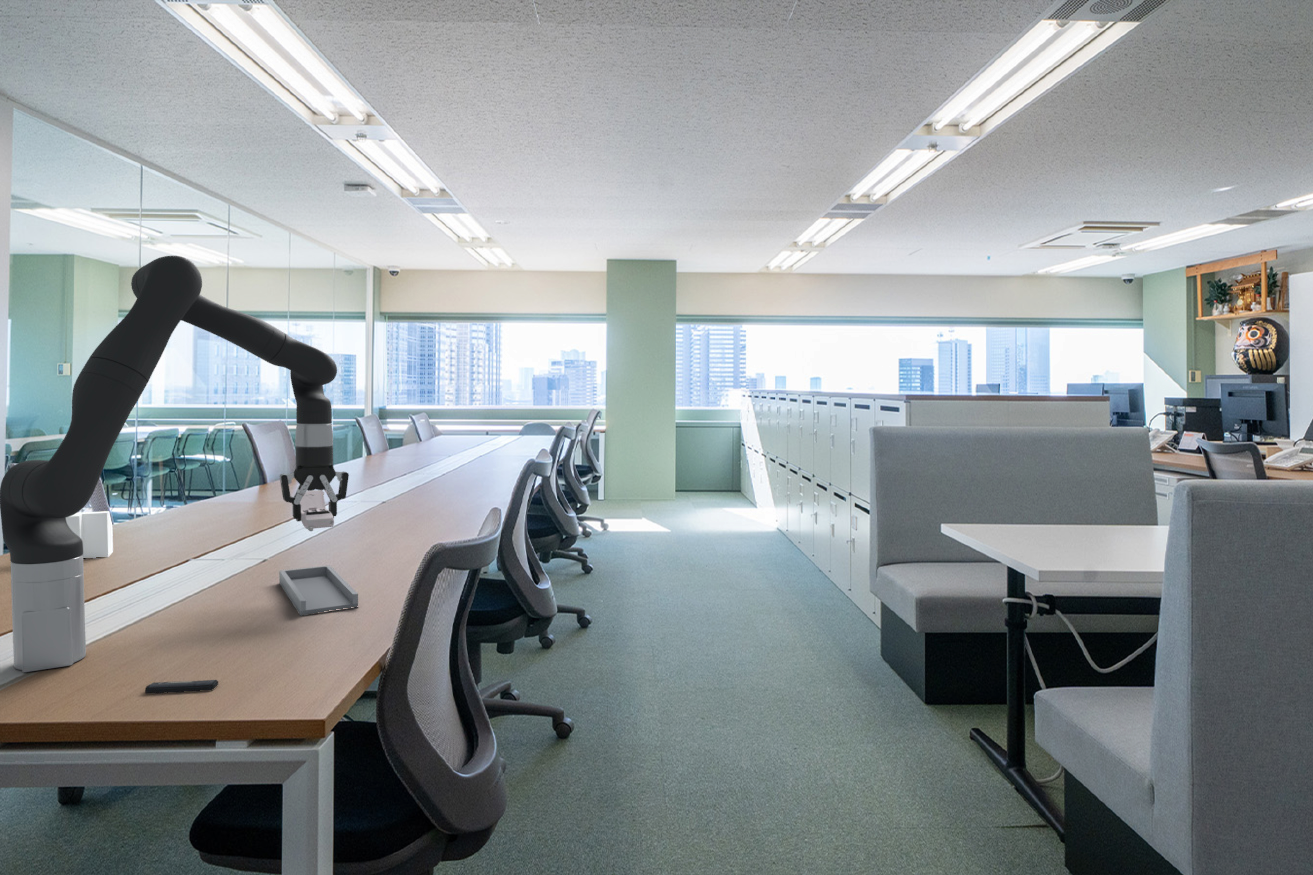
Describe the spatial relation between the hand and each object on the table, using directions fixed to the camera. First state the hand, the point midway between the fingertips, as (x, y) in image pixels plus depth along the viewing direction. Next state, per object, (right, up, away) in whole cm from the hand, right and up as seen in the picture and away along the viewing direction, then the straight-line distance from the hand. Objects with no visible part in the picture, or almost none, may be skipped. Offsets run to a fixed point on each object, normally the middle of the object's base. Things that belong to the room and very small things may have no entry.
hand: (315, 519), depth 163 cm
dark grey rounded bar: (+4, -21, -51) cm, 56 cm away
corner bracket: (-77, -14, +33) cm, 85 cm away
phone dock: (0, -17, +1) cm, 17 cm away
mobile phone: (0, -1, 0) cm, 1 cm away
